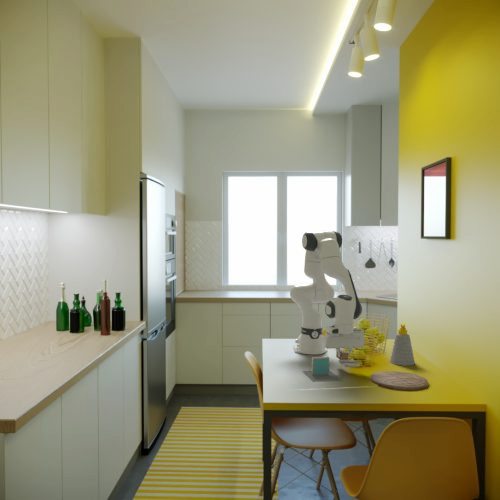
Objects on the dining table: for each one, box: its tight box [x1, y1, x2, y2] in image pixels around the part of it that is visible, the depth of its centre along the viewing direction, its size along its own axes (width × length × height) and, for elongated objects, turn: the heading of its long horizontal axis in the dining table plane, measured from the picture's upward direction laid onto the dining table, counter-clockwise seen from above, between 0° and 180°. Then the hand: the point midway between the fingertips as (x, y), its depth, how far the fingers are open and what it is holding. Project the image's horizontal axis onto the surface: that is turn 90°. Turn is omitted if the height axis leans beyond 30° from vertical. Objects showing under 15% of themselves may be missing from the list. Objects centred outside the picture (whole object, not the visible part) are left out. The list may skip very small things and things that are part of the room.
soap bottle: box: [389, 323, 416, 367], centre depth 252 cm, size 12×12×20 cm
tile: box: [311, 356, 330, 375], centre depth 226 cm, size 2×8×8 cm, turn 101°
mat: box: [301, 369, 344, 383], centre depth 224 cm, size 18×14×1 cm
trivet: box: [369, 370, 429, 392], centre depth 217 cm, size 25×25×2 cm
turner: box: [335, 348, 361, 368], centre depth 232 cm, size 18×7×4 cm, turn 11°
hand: (343, 356), depth 234 cm, fingers closed on turner, 3 cm apart
